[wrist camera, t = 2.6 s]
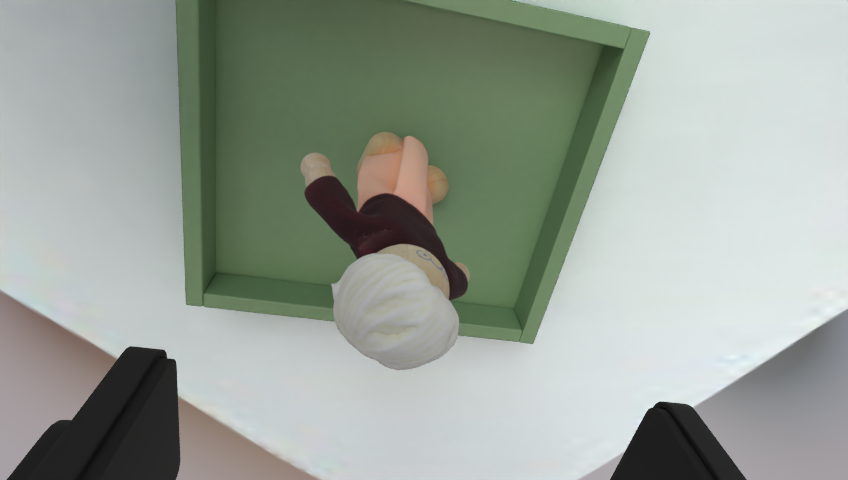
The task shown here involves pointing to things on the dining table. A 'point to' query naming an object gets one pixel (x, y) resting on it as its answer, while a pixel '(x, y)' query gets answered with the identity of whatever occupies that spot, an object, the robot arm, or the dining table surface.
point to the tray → (404, 116)
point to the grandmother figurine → (391, 253)
